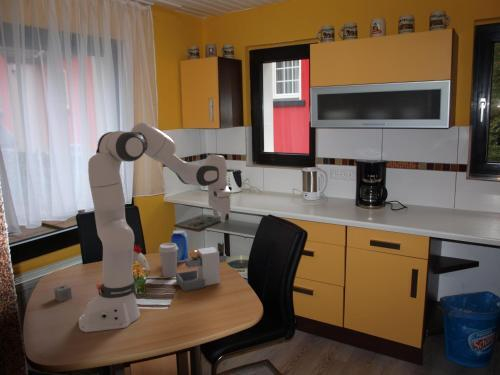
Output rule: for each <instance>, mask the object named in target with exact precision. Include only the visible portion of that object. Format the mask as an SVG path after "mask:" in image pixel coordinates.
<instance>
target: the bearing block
mask: <svg viewBox="0 0 500 375" xmlns="http://www.w3.org/2000/svg"><path fill="white" fill-rule="evenodd" d="M196 251H198V252H199V257H200V258H201V259H202V266H197V277H198V279H199V280H200V279H205V286H210V285H216V284H220V283H221V270H220V269H221V268H220V261H219V251H218V248H216V247H214V246H210V247H209V246H208V247H204V248H197V250H196Z"/></svg>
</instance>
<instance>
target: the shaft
mask: <svg viewBox="0 0 500 375" xmlns="http://www.w3.org/2000/svg"><path fill="white" fill-rule="evenodd" d="M217 250H218V251H219V261H220V263H225V262H227V255H226V254H225V243H224V242H221V241H220V242H218V243H217ZM198 266H202V259H201V258H200V257H198V258H197V259H192V258H191V257H188V258H187V259H185V267H186V268H196V267H198Z"/></svg>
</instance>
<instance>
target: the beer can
mask: <svg viewBox="0 0 500 375" xmlns="http://www.w3.org/2000/svg"><path fill="white" fill-rule="evenodd" d="M170 239H171V243H175V244H176V245H177V247H178V250H177V263H180V264H181V263H184V262H185V259H187V258H189V248H188V247H189V245H188V234H187V233H186V230H184V229H176V230H175V229H174V230H173V231H172V234H171V238H170Z"/></svg>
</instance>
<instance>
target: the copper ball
mask: <svg viewBox="0 0 500 375" xmlns="http://www.w3.org/2000/svg"><path fill="white" fill-rule="evenodd" d="M189 256H190V258H192V259H197V258H198V257H199V252H198V251H197V250H196V249H194V250H191V251H190V253H189Z"/></svg>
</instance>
